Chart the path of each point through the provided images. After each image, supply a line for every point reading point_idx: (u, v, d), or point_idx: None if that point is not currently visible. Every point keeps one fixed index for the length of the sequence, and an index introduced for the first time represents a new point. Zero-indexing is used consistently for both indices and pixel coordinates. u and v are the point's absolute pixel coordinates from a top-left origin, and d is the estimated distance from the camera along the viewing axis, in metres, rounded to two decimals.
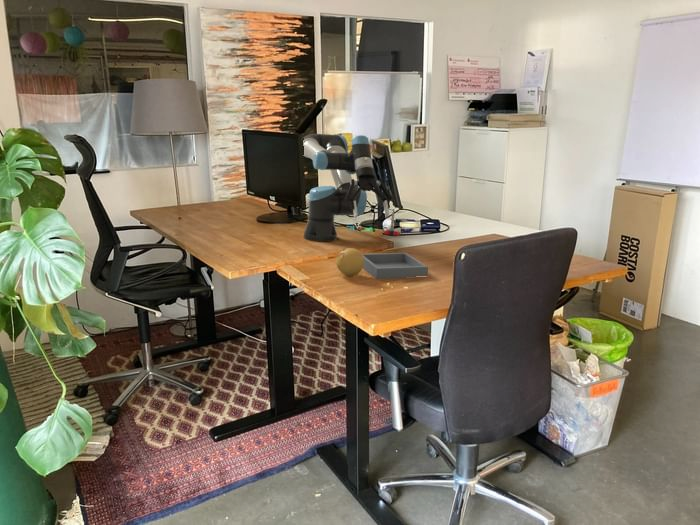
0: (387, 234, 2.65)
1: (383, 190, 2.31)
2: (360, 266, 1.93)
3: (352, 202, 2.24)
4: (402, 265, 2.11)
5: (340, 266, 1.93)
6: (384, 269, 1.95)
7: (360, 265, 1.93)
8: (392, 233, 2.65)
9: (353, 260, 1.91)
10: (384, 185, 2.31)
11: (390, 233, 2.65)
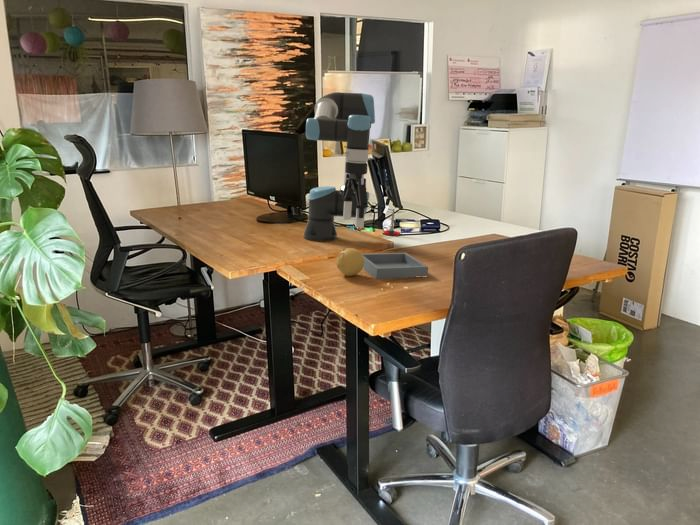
0: (387, 234, 2.65)
1: None
2: (360, 266, 1.93)
3: None
4: (402, 265, 2.11)
5: (340, 266, 1.93)
6: (384, 269, 1.95)
7: (360, 265, 1.93)
8: (392, 233, 2.65)
9: (353, 260, 1.91)
10: (359, 187, 1.82)
11: (390, 233, 2.65)
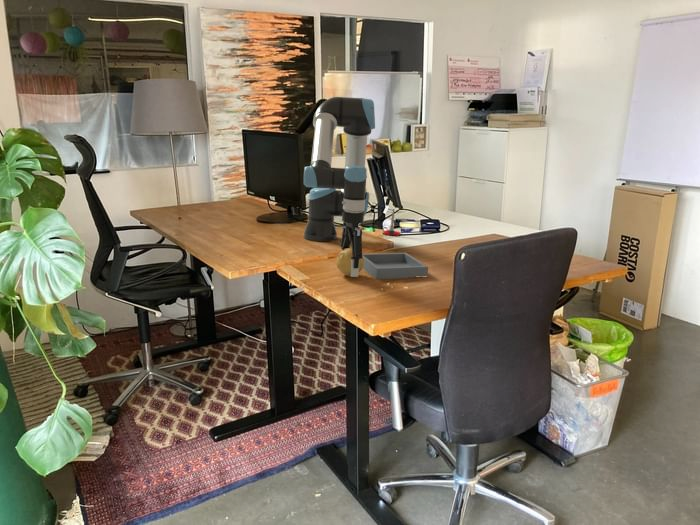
0: (387, 234, 2.65)
1: None
2: (360, 266, 1.93)
3: None
4: (402, 265, 2.11)
5: (340, 266, 1.93)
6: (384, 269, 1.95)
7: (360, 265, 1.93)
8: (392, 233, 2.65)
9: None
10: (355, 239, 1.87)
11: (390, 233, 2.65)
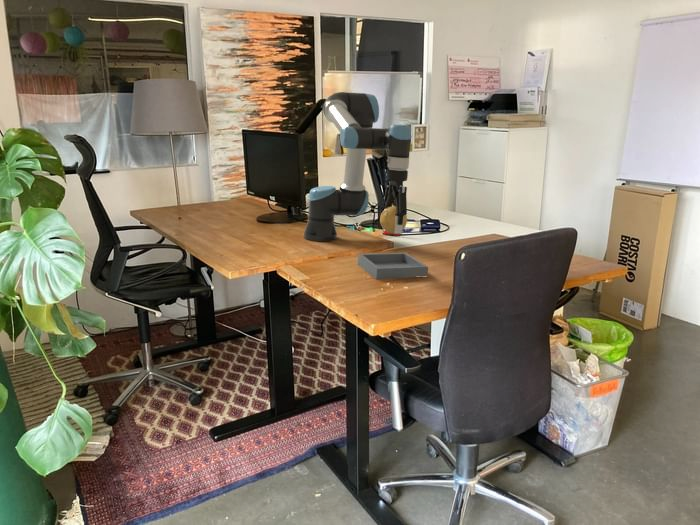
0: (387, 234, 2.65)
1: None
2: (403, 223, 1.98)
3: None
4: (402, 265, 2.11)
5: (384, 223, 1.98)
6: (384, 269, 1.95)
7: (403, 222, 1.98)
8: None
9: None
10: (399, 195, 1.92)
11: None
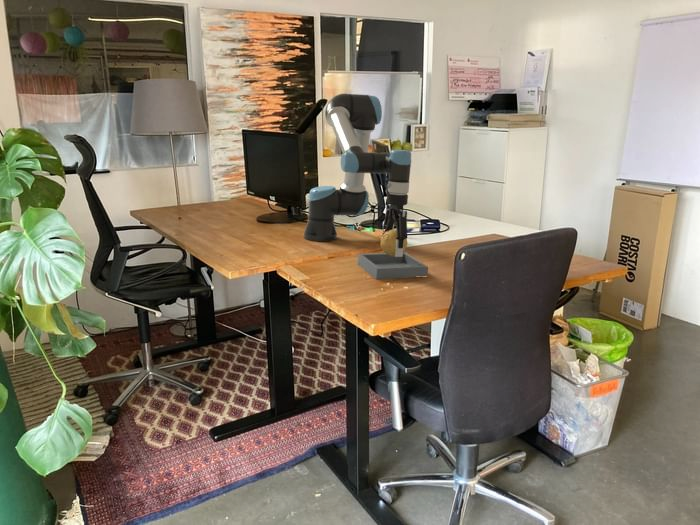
0: None
1: None
2: (404, 246, 2.01)
3: None
4: (402, 265, 2.11)
5: (385, 246, 2.01)
6: (384, 269, 1.95)
7: (404, 245, 2.01)
8: None
9: None
10: (400, 220, 1.95)
11: None
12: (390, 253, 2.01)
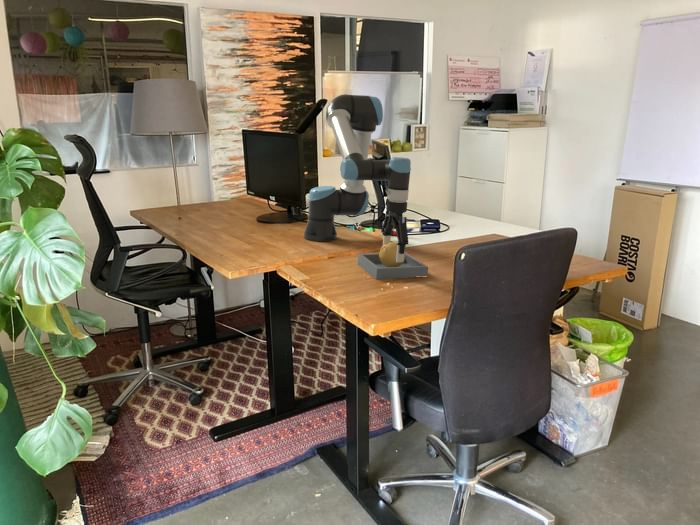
0: None
1: None
2: None
3: None
4: (402, 265, 2.11)
5: (383, 259, 2.03)
6: (384, 269, 1.95)
7: None
8: (392, 233, 2.65)
9: (396, 253, 2.01)
10: (400, 225, 1.95)
11: None
12: (388, 265, 2.03)
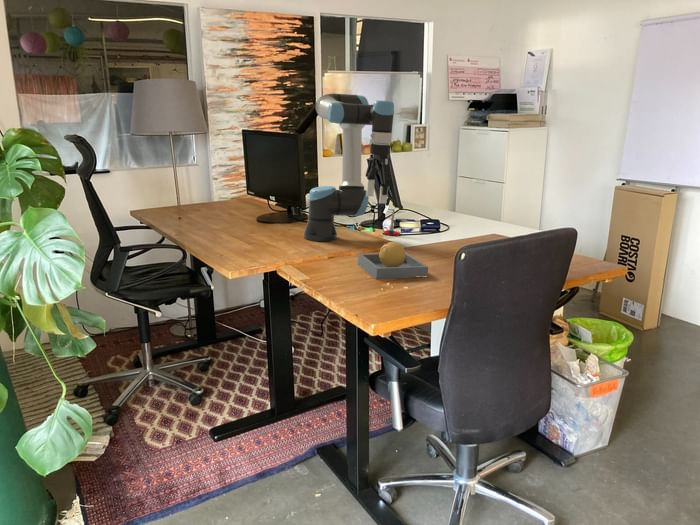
0: (387, 234, 2.65)
1: None
2: (402, 259, 2.03)
3: None
4: (402, 265, 2.11)
5: (383, 259, 2.03)
6: (384, 269, 1.95)
7: (402, 258, 2.03)
8: (392, 233, 2.65)
9: (396, 253, 2.01)
10: (383, 167, 2.01)
11: (390, 233, 2.65)
12: (388, 265, 2.03)
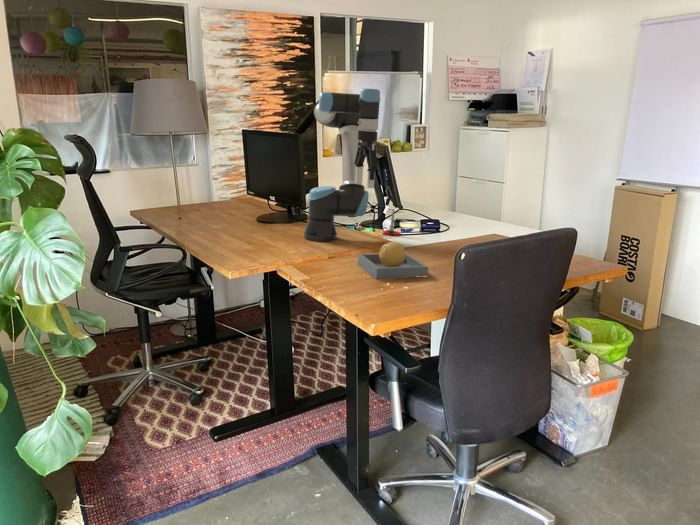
0: (387, 234, 2.65)
1: None
2: (402, 259, 2.03)
3: None
4: (402, 265, 2.11)
5: (383, 259, 2.03)
6: (384, 269, 1.95)
7: (402, 258, 2.03)
8: (392, 233, 2.65)
9: (396, 253, 2.01)
10: (370, 152, 2.07)
11: (390, 233, 2.65)
12: (388, 265, 2.03)
